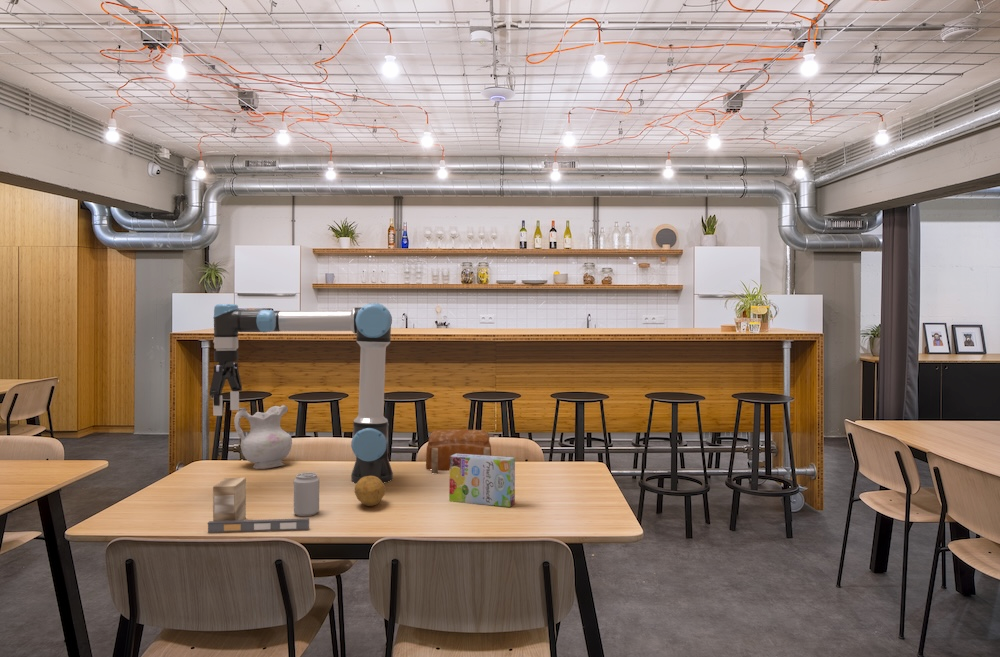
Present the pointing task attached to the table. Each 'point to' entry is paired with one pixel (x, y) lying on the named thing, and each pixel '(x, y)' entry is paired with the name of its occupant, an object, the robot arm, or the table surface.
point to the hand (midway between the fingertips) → (226, 412)
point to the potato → (369, 490)
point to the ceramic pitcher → (264, 437)
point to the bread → (455, 445)
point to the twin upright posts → (435, 458)
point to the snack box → (482, 479)
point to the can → (306, 494)
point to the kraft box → (229, 500)
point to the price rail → (258, 525)
